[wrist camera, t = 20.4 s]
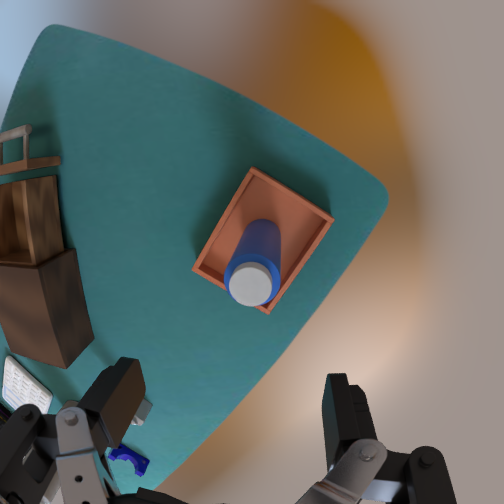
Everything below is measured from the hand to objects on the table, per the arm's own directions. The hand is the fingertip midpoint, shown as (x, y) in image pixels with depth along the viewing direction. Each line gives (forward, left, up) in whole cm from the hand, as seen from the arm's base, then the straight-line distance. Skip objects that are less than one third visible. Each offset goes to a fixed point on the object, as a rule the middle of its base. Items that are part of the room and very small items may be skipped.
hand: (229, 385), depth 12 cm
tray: (0, 0, -25) cm, 25 cm away
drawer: (-6, -32, -24) cm, 41 cm away
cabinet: (+9, -32, -25) cm, 42 cm away
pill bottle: (0, 0, -24) cm, 24 cm away
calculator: (+37, -53, -25) cm, 70 cm away
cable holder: (+47, -27, -25) cm, 60 cm away
